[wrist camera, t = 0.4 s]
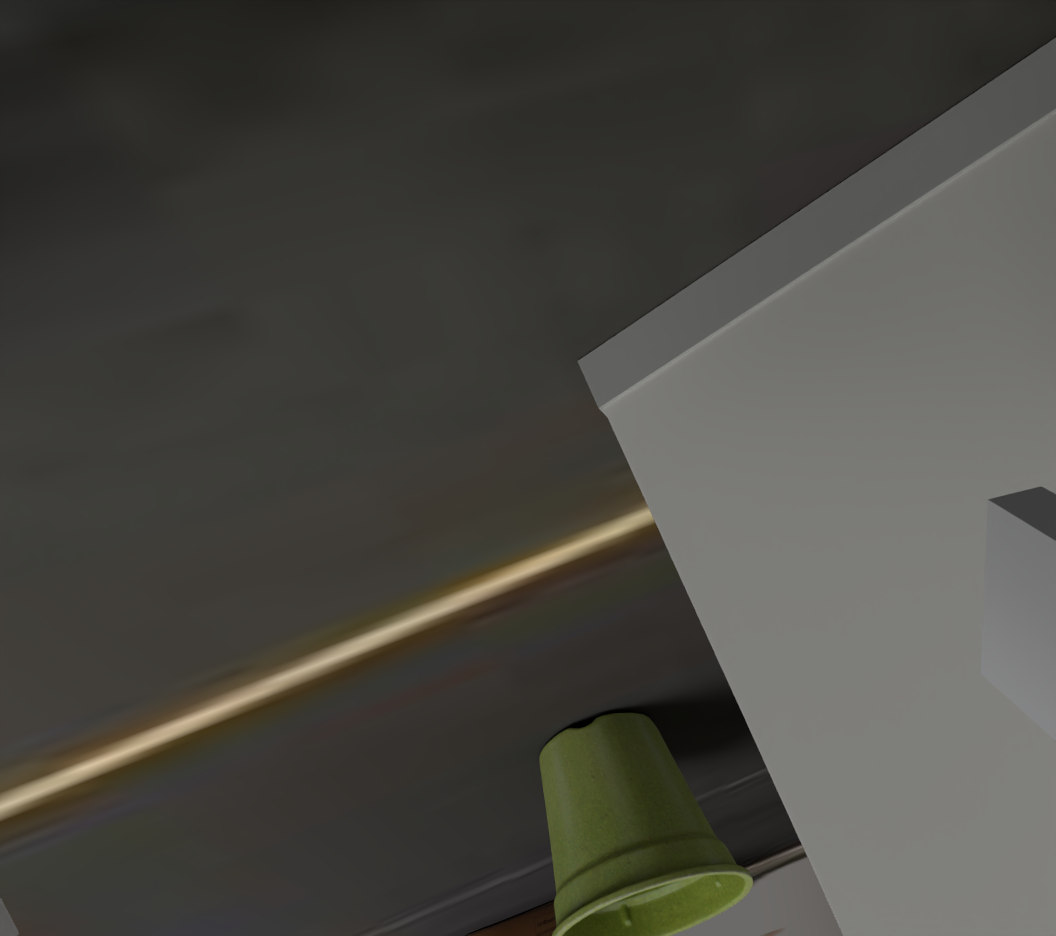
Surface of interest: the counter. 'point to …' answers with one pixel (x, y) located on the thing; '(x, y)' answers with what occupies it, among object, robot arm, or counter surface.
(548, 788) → the plant pot
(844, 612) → the tall gray box
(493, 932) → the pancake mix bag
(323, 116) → the counter surface
